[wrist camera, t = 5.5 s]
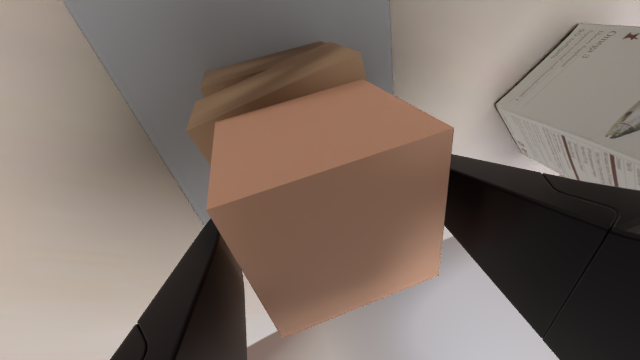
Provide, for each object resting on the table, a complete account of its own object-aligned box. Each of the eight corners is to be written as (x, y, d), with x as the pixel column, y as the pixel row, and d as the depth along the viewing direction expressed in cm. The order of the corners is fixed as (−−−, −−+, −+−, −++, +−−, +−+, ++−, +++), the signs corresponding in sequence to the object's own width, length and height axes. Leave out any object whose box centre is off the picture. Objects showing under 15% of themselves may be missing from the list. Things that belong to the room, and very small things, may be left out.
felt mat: (383, -77, 12) (386, -79, 12) (394, 171, 21) (396, 172, 20) (61, -6, 11) (58, -6, 11) (211, 233, 19) (211, 236, 19)
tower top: (329, 41, 11) (360, 52, 9) (362, 156, 15) (392, 189, 12) (195, 101, 11) (185, 130, 8) (261, 203, 14) (269, 247, 12)
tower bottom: (320, 40, 14) (341, 48, 11) (337, 142, 17) (357, 165, 15) (205, 71, 13) (200, 87, 11) (247, 171, 17) (251, 201, 14)
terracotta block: (363, 79, 9) (453, 128, 5) (374, 193, 12) (438, 275, 8) (215, 122, 8) (206, 209, 5) (264, 231, 11) (282, 338, 8)
